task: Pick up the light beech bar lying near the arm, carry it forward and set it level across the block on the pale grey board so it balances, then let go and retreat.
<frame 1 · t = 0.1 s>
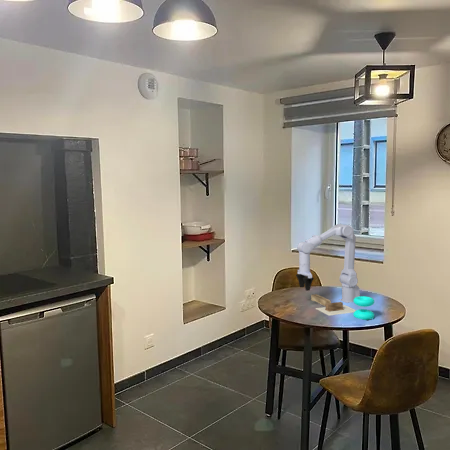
hand: (304, 288, 253), 10 cm above the table, tool pointing down, fingers open, 7 cm apart
board: (337, 311, 244), on the table
donuts: (363, 318, 232), on the table
bar: (320, 303, 260), on the table
block: (334, 309, 245), resting on board
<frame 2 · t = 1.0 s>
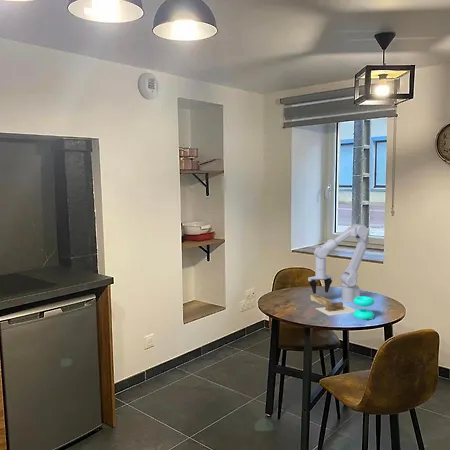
hand: (320, 292, 260), 6 cm above the table, tool pointing down, fingers open, 7 cm apart
nothing on the table moved.
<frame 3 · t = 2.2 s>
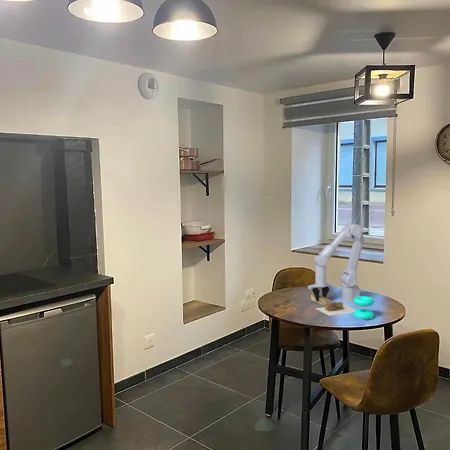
hand: (320, 300, 260), 1 cm above the table, tool pointing down, fingers closed on bar, 4 cm apart
bar: (320, 303, 260), on the table, touching gripper
everything else where it was.
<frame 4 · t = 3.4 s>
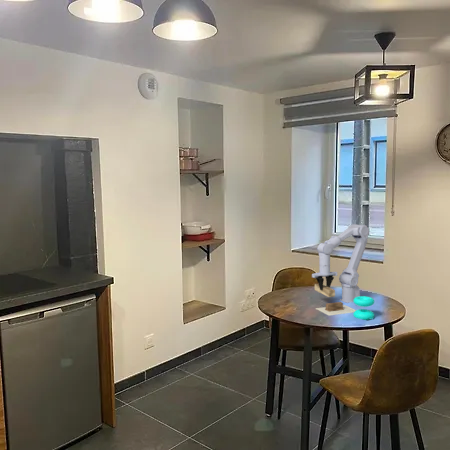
hand: (324, 289, 255), 9 cm above the table, tool pointing down, fingers closed on bar, 3 cm apart
bar: (324, 293, 255), point 7 cm above the table, touching gripper
everything else where it was.
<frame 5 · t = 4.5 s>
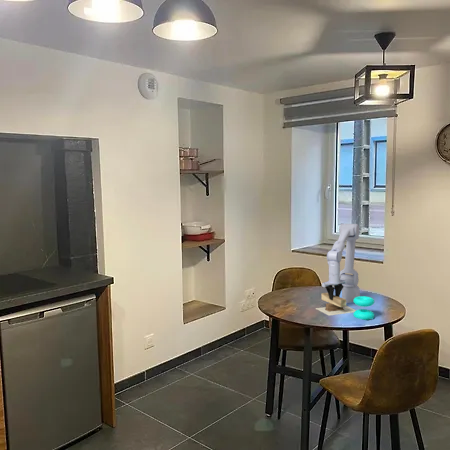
hand: (334, 298, 244), 6 cm above the table, tool pointing down, fingers closed on bar, 3 cm apart
bar: (333, 302, 245), point 4 cm above the table, touching gripper, block
everything else where it was.
when the fingers open (6 cm above the table, at t = 4.7 s): bar stays where it is, resting on block.
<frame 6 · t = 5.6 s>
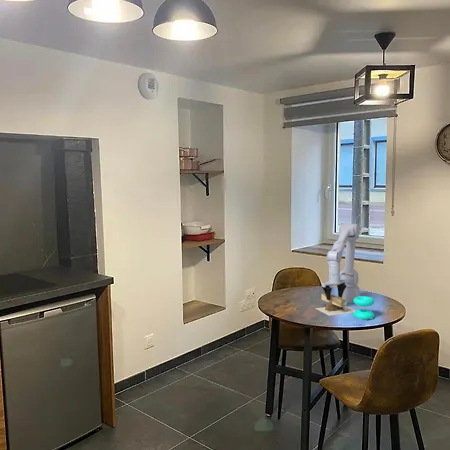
hand: (334, 298, 244), 6 cm above the table, tool pointing down, fingers open, 7 cm apart
bar: (333, 302, 245), point 4 cm above the table, touching block
everything else where it was.
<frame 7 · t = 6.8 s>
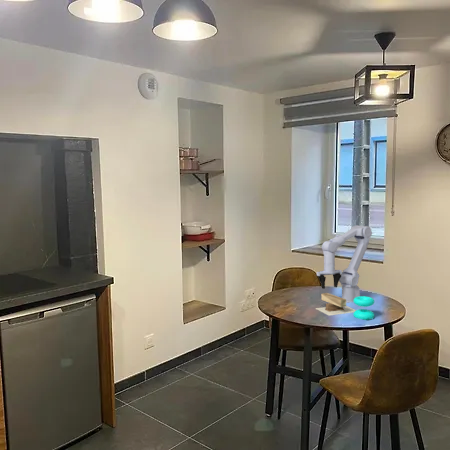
hand: (329, 287, 254), 10 cm above the table, tool pointing down, fingers open, 7 cm apart
nothing on the table moved.
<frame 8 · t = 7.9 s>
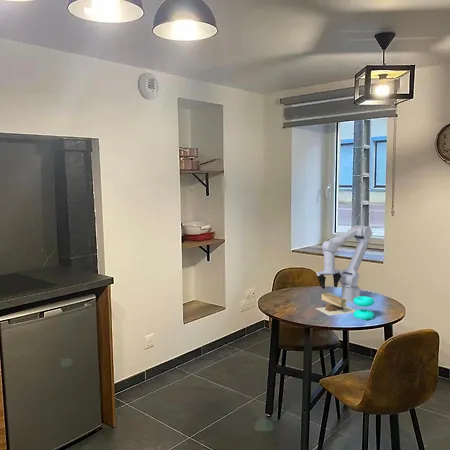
hand: (329, 287, 254), 10 cm above the table, tool pointing down, fingers open, 7 cm apart
nothing on the table moved.
at the end: bar 0.6 cm off-centre on the block, point 3.5 cm above the block's base; bar tilted 0°; bar touching block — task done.
